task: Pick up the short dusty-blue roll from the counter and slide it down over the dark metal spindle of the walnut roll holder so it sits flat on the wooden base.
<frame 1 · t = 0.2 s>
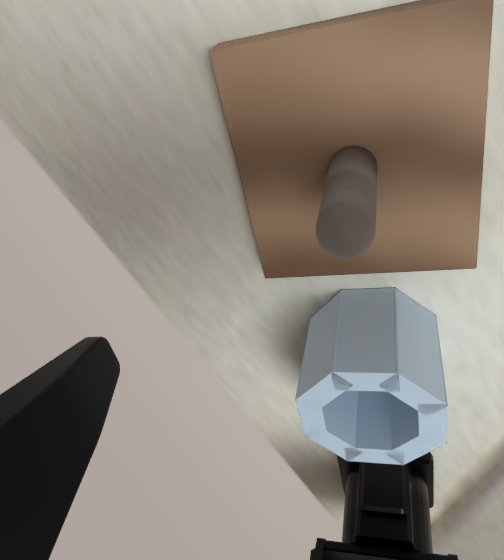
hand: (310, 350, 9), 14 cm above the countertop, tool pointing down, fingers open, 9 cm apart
blue roll: (372, 335, 27), on the countertop
roll holder: (354, 154, 21), on the countertop
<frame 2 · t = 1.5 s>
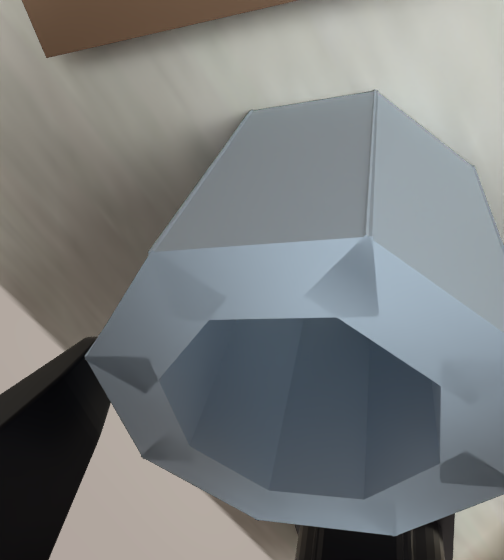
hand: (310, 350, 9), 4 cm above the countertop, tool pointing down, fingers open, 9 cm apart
blue roll: (329, 232, 12), on the countertop
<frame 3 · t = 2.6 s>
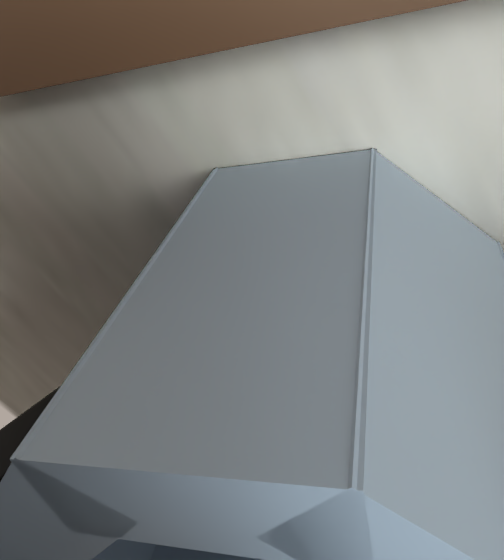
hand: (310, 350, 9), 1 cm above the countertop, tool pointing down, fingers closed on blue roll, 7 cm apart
blue roll: (317, 310, 10), on the countertop, touching gripper
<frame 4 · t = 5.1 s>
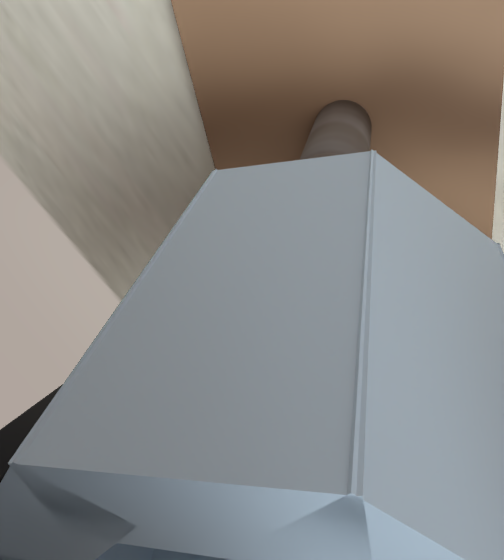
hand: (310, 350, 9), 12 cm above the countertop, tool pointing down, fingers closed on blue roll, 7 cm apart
blue roll: (316, 311, 10), point 10 cm above the countertop, touching gripper
roll holder: (345, 116, 18), on the countertop
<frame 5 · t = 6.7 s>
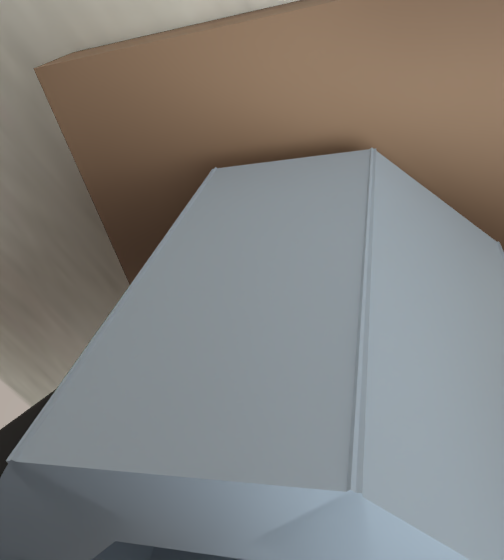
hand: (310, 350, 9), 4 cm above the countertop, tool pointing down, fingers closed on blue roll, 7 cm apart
blue roll: (316, 310, 10), point 3 cm above the countertop, touching gripper
roll holder: (328, 246, 12), on the countertop
when the fingers open (4 cm above the countertop, at t = 7.8 s): blue roll drops 1 cm, resting on roll holder.
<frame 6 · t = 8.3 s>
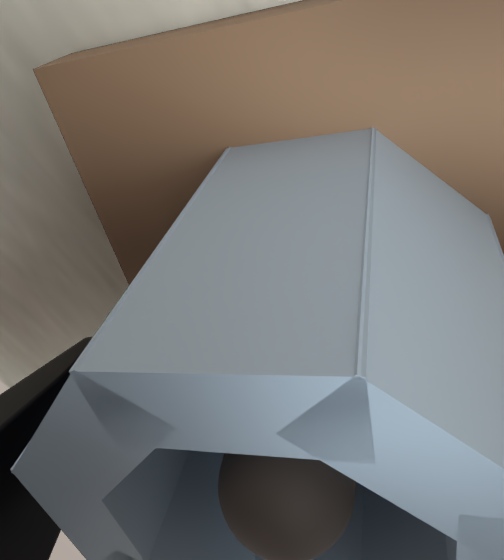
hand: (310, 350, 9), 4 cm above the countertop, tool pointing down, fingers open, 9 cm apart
blue roll: (321, 282, 11), point 1 cm above the countertop, touching roll holder
roll holder: (327, 247, 12), on the countertop
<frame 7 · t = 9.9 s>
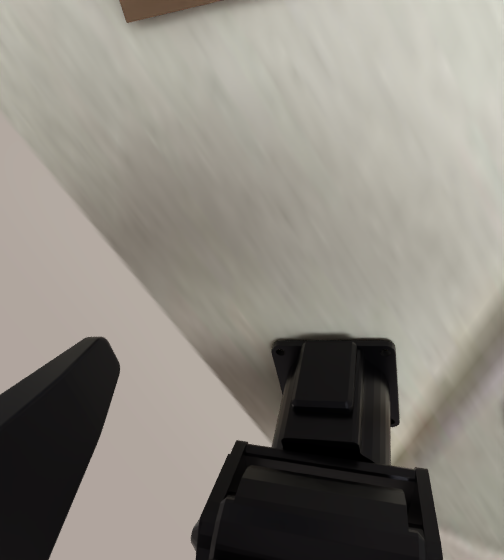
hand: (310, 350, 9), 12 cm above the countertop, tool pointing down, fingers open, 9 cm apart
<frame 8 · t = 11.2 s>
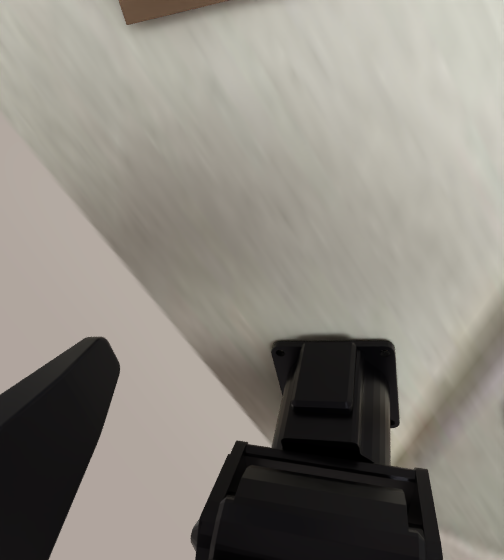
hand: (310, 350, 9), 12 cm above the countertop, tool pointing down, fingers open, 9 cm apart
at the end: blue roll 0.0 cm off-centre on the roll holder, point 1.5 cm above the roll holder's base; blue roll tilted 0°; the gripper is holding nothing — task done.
